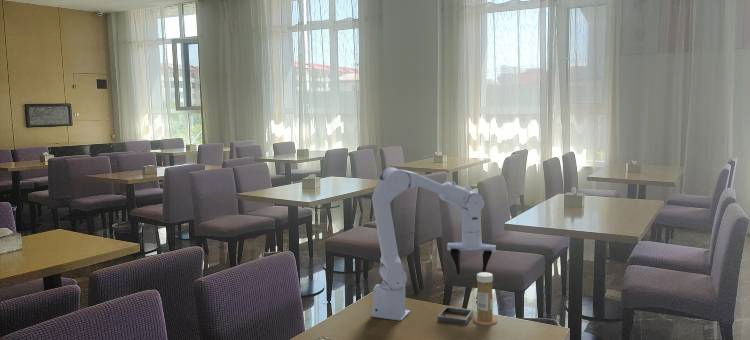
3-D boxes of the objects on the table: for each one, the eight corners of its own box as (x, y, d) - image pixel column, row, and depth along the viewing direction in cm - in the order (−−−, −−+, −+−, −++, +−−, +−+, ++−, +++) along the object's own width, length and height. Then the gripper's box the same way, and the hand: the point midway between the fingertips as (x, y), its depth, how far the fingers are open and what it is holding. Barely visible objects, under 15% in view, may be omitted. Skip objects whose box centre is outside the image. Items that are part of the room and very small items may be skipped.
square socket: (437, 321, 167) (437, 316, 166) (445, 311, 174) (445, 306, 174) (466, 325, 163) (466, 320, 163) (473, 314, 171) (473, 310, 171)
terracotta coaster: (470, 323, 165) (470, 321, 165) (475, 314, 171) (475, 313, 171) (494, 326, 162) (494, 324, 162) (499, 318, 168) (499, 316, 168)
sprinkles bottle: (496, 319, 166) (496, 274, 164) (484, 323, 163) (484, 277, 162) (484, 315, 169) (484, 270, 168) (473, 318, 167) (473, 273, 165)
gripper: (445, 232, 174) (445, 276, 175) (494, 234, 169) (494, 279, 171) (449, 227, 180) (449, 269, 182) (496, 229, 176) (496, 272, 178)
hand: (471, 273), depth 177 cm, fingers open, 7 cm apart
